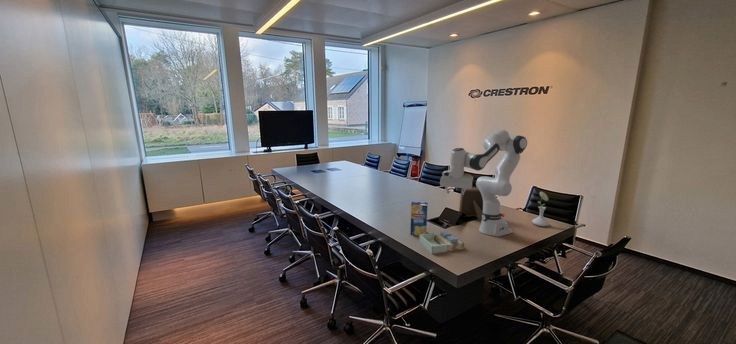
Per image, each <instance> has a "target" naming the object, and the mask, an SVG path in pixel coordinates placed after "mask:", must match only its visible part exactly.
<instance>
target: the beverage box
mask: <svg viewBox="0 0 736 344" xmlns="http://www.w3.org/2000/svg"><path fill="white" fill-rule="evenodd" d="M428 204H429V203H428V202H425V201H424V202H421V201H411V203H410V235H412V236H420V235H422V234H427V229H428V228H427V221H428V220H427V219H428Z"/></svg>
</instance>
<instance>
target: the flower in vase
mask: <svg viewBox="0 0 736 344" xmlns="http://www.w3.org/2000/svg"><path fill="white" fill-rule="evenodd" d="M539 197H541V199H540V201H539V200H538V201H537V204H540V206H538V209H539V215H538V216H537V217H536V218H534V219H532V220H531V223H532V224H533V225H535V226H537V227H548V226H550V222H549V221H548V220H547V219H546V218H545V217H544V212H545V210H546V209H547V207H546V206H544V205H545V203H543V204H542V203H541V202H542V200H544V201H545V202H548V201H549V196H548V195H547V194H546V193H545V192H544V191H539Z"/></svg>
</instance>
